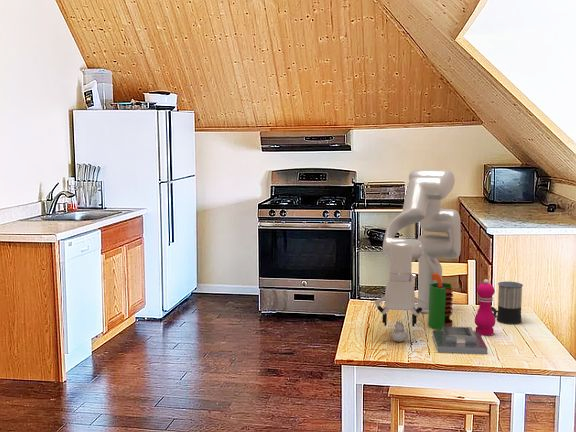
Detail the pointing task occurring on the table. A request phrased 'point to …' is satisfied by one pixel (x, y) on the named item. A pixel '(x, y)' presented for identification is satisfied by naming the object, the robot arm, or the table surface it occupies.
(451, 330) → the plate
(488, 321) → the pepper mill
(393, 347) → the table surface
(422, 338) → the table surface
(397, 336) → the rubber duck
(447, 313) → the green round disc holder
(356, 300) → the table surface
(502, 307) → the milk frother
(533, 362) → the table surface
